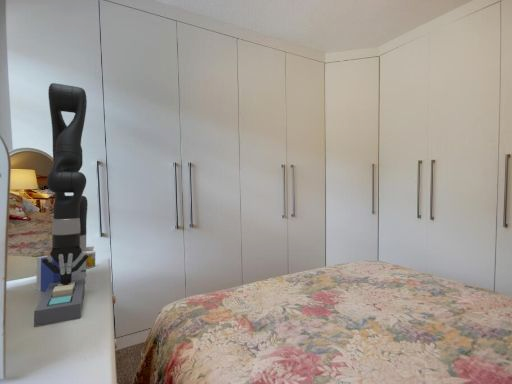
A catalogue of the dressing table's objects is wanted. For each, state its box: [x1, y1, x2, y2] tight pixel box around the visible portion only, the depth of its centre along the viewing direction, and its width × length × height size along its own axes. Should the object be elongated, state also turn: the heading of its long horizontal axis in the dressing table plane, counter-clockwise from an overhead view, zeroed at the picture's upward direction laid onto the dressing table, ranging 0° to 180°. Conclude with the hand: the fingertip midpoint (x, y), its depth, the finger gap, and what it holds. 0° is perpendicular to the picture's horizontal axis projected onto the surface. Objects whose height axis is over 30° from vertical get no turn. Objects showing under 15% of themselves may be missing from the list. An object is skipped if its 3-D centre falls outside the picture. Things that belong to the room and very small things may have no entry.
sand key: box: [53, 284, 74, 297], centre depth 82 cm, size 5×5×4 cm
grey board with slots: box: [33, 278, 86, 327], centre depth 82 cm, size 24×10×4 cm, turn 30°
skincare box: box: [72, 251, 87, 281], centre depth 101 cm, size 6×4×12 cm
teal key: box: [49, 296, 72, 306], centre depth 76 cm, size 5×5×4 cm
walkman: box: [35, 255, 61, 293], centre depth 95 cm, size 8×3×12 cm, turn 75°
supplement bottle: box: [86, 244, 96, 270], centre depth 125 cm, size 5×5×10 cm
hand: (66, 284), depth 88 cm, fingers closed
